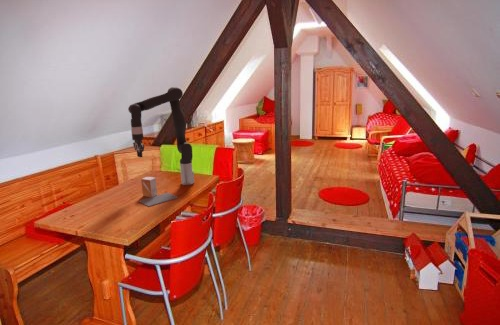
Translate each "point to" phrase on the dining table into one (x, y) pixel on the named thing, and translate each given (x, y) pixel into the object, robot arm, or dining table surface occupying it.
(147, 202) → the slate mat
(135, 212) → the dining table surface
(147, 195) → the small box
